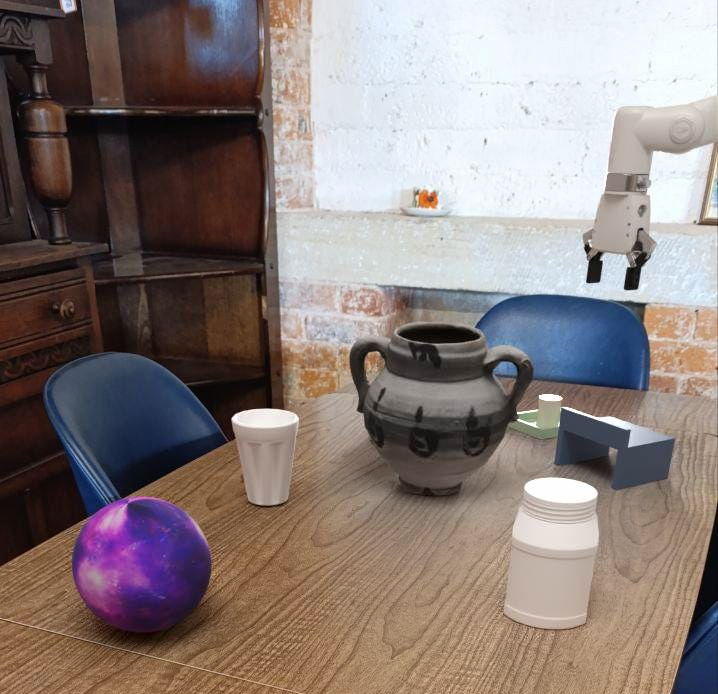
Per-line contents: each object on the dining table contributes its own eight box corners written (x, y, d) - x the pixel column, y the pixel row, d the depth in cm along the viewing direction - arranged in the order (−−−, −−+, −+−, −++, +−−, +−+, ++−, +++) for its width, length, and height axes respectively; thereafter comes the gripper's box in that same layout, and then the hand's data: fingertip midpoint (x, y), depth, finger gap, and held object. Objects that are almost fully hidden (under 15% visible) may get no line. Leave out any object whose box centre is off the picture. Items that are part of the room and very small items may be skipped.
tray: (553, 416, 181) (554, 406, 180) (591, 430, 173) (593, 420, 172) (503, 424, 175) (504, 415, 174) (540, 439, 166) (542, 429, 166)
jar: (508, 581, 112) (521, 469, 105) (585, 590, 110) (603, 477, 103) (501, 624, 102) (514, 503, 95) (585, 634, 100) (605, 512, 93)
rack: (603, 453, 160) (612, 399, 155) (667, 478, 148) (679, 420, 144) (554, 463, 154) (561, 407, 149) (616, 490, 143) (626, 430, 138)
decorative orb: (62, 614, 102) (43, 493, 95) (181, 583, 110) (171, 469, 103) (110, 672, 91) (92, 540, 84) (238, 633, 99) (231, 509, 92)
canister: (548, 421, 176) (551, 393, 174) (563, 426, 173) (566, 398, 170) (531, 423, 174) (534, 396, 172) (546, 429, 171) (549, 401, 168)
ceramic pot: (530, 475, 148) (548, 322, 136) (506, 524, 129) (525, 351, 117) (369, 455, 156) (372, 309, 144) (324, 498, 137) (323, 334, 125)
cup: (300, 512, 132) (299, 427, 126) (233, 512, 131) (229, 427, 125) (300, 488, 141) (298, 408, 134) (237, 489, 140) (233, 408, 134)
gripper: (678, 187, 152) (660, 291, 160) (606, 183, 165) (593, 279, 173) (648, 187, 148) (631, 294, 156) (576, 183, 161) (564, 281, 169)
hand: (611, 286), depth 164 cm, fingers open, 9 cm apart
